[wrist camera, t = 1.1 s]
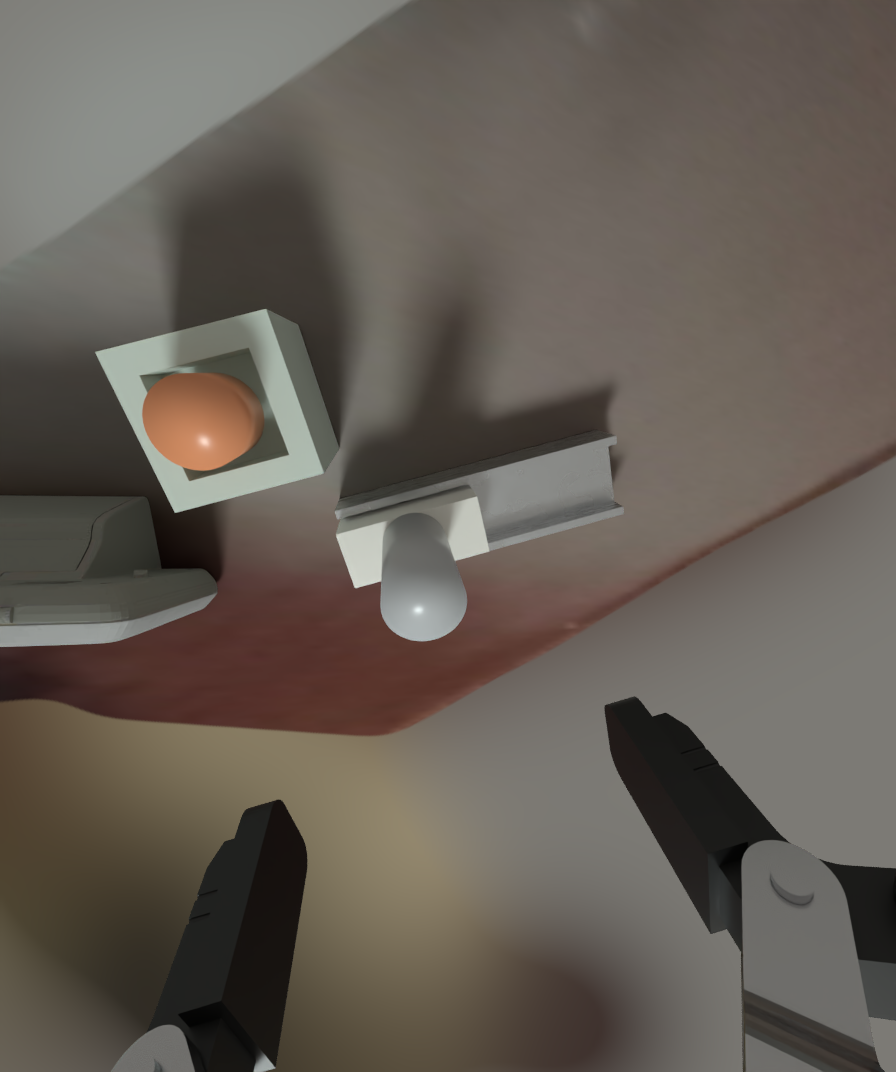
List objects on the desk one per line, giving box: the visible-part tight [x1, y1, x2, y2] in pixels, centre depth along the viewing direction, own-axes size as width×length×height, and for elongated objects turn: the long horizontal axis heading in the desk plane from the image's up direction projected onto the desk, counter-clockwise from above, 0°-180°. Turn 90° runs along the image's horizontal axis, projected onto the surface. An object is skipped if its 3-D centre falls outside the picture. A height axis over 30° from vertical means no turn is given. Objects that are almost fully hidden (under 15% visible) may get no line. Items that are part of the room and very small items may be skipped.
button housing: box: [95, 309, 339, 513], centre depth 23 cm, size 7×7×7 cm
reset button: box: [142, 373, 265, 471], centre depth 18 cm, size 4×4×3 cm
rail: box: [335, 430, 624, 551], centre depth 28 cm, size 17×5×3 cm, turn 103°
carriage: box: [336, 485, 489, 641], centre depth 23 cm, size 8×4×10 cm, turn 103°
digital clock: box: [0, 495, 218, 647], centre depth 23 cm, size 16×9×11 cm, turn 76°
